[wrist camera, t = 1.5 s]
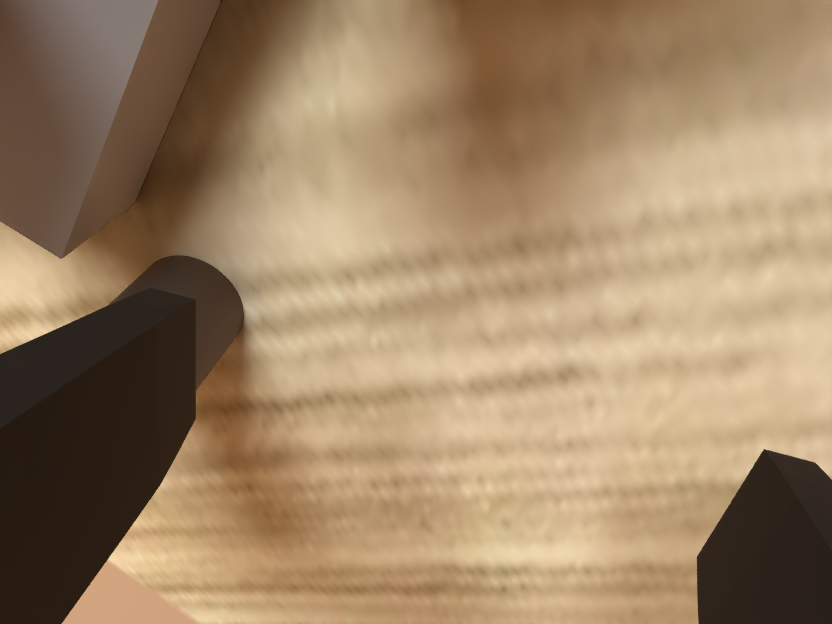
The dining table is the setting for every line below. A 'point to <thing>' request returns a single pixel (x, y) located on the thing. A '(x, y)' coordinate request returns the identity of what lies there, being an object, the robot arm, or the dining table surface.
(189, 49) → the switch box
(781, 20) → the dining table surface
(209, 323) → the cylinder
